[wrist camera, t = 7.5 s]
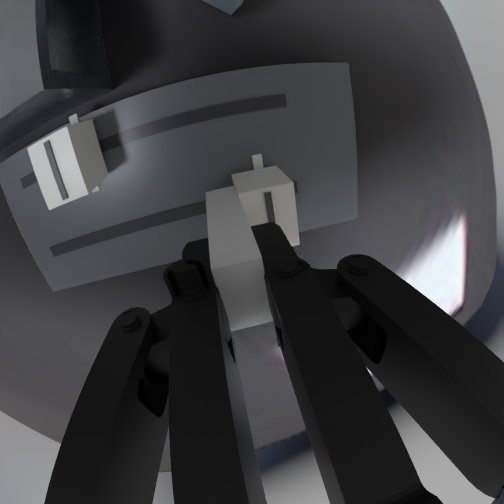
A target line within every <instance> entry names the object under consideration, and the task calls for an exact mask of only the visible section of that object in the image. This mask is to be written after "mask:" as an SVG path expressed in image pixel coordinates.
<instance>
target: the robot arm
mask: <svg viewBox="0 0 504 504" xmlns="http://www.w3.org/2000/svg"><path fill="white" fill-rule="evenodd" d="M205 193H206V210H207V226H208V238H204V239H200V240H195V241H191V242H188V243H187V244H186V246H185V247H184V249H183V250H182V259H181V260H179V261H176V262H175V263H173V264H172V265H170V266H169V267H168V268H167V269H166V270H165V272H164V274H163V278H164V280H165V283H166V285H167V287H168V289H169V291H170V294H171V296H172V303H171V304H170V305H168V306H167V307H165V308H163V309H161V310H159V311H157V312H155V313H153V314H151V315H150V313H149V311H147V310H146V309H145V308H140V307H136V308H131V309H128V310H126V311H124V312H123V313H121V314H120V315H119V316H118V317H117V318H116V319H115V321H114V322H113V324H112V326H111V328H110V330H109V332H108V334H107V336H106V338H105V340H104V342H103V344H102V346H101V348H100V350H99V352H98V355H97V357H96V359H95V361H94V363H93V365H92V368H91V370H90V372H89V374H88V377H87V379H86V381H85V384H84V386H83V388H82V391H81V393H80V395H79V398H78V400H77V403H76V405H75V408H74V410H73V413H72V416H71V418H70V421H69V424H68V426H67V429H66V432H65V435H64V437H63V440H62V443H61V446H60V450H59V452H58V456H57V459H56V462H55V465H54V469H53V472H52V476H51V480H50V483H49V487H48V491H47V495H46V499H45V503H44V504H152V502H153V497H154V492H155V487H156V482H157V477H158V472H159V467H160V462H161V458H162V453H163V448H164V444H165V439H166V435H167V431H168V426H169V436H170V457H171V472H172V484H173V495H174V504H267V502H266V498H265V494H264V489H263V485H262V481H261V477H260V472H259V468H258V463H257V458H256V454H255V449H254V445H253V440H252V435H251V430H250V425H249V420H248V415H247V410H246V405H245V400H244V395H243V390H242V385H241V379H240V374H239V368H238V363H237V357H236V352H235V346H234V342H233V339H232V336H231V332H230V329H231V331H235V330H239V329H244V328H248V327H252V326H256V325H260V324H264V323H268V322H272V321H273V320H274V324H275V330H276V336H277V342H278V347H279V346H280V347H281V350H282V354H283V357H284V360H285V363H286V366H287V369H288V373H289V376H290V379H291V382H292V385H293V388H294V391H295V395H296V398H297V401H298V404H299V407H300V410H301V413H302V417H303V420H304V423H305V426H306V429H307V432H308V435H309V439H310V442H311V445H312V448H313V451H314V454H315V457H316V461H317V464H318V467H319V470H320V473H321V476H322V479H323V482H324V485H325V489H326V492H327V495H328V498H329V501H330V504H443V503H442V502H441V501H440V499H438V497H437V496H435V495H433V494H432V493H430V492H429V491H427V490H426V489H425V488H424V487H423V485H422V483H421V481H420V479H419V476H418V474H417V472H416V470H415V467H414V465H413V463H412V461H411V458H410V456H409V454H408V452H407V449H406V447H405V445H404V443H403V441H402V438H401V436H400V434H399V432H398V430H397V428H396V426H395V424H394V422H393V419H392V417H391V415H390V413H389V411H388V409H387V407H386V405H385V403H384V401H383V399H382V397H381V395H380V393H379V391H378V389H377V387H376V385H375V383H374V381H373V379H372V377H371V375H370V373H369V371H368V370H367V368H368V369H369V370H370V371H371V372H372V373H373V375H374V376H375V377H376V378H377V379H378V380H379V381H380V382H381V383H382V384H383V386H384V387H385V388H386V389H387V390H388V391H389V392H390V393H391V394H392V396H393V397H394V398H395V399H396V400H397V401H398V402H399V403H400V404H401V406H402V407H403V408H404V409H405V410H406V411H407V412H408V413H409V414H410V415H411V417H412V418H413V419H414V420H415V421H416V422H417V423H418V424H419V425H420V427H421V428H422V429H423V430H424V431H425V432H426V433H427V434H428V435H429V437H430V438H431V439H432V440H433V441H434V442H435V443H436V445H437V446H438V447H439V448H440V449H441V450H442V451H443V452H444V454H445V455H446V456H447V457H448V458H449V459H450V460H451V461H452V463H453V464H454V465H455V466H456V467H457V468H458V469H459V470H460V472H461V473H463V475H464V476H465V477H466V478H467V480H469V482H471V483H472V484H473V485H474V486H475V487H476V488H477V489H479V490H480V491H481V492H483V493H484V494H486V495H488V496H491V497H493V498H495V500H494V501H493V502H492V504H504V362H503V361H502V360H500V359H499V358H498V357H497V356H496V355H495V354H494V353H493V352H492V351H490V350H489V349H488V348H487V347H486V346H485V345H484V344H483V343H482V342H480V341H479V340H478V339H477V338H476V337H474V336H473V335H472V334H471V333H470V332H469V331H467V330H466V329H465V328H464V327H463V326H462V325H460V324H459V323H458V322H457V321H456V320H454V319H453V318H452V317H451V316H450V315H448V314H447V313H446V312H445V311H443V310H442V309H441V308H440V307H438V306H437V305H436V304H435V303H433V302H432V301H431V300H429V299H428V298H427V297H426V296H424V295H423V294H422V293H420V292H419V291H418V290H416V289H415V288H414V287H412V286H411V285H410V284H408V283H407V282H406V281H404V280H403V279H402V278H400V277H399V276H398V275H396V274H395V273H394V272H392V271H391V270H389V269H388V268H387V267H385V266H384V265H382V264H381V263H380V262H378V261H377V260H375V259H374V258H372V257H370V256H367V255H362V254H355V255H349V256H346V257H344V258H343V259H341V260H340V261H339V263H338V265H337V269H325V270H323V269H314V268H311V267H310V265H309V264H308V263H307V262H306V261H305V260H302V259H300V258H298V256H297V255H296V253H295V251H294V249H293V248H292V246H291V244H290V242H289V241H288V240H287V237H286V235H285V234H284V232H283V230H282V229H281V227H280V226H279V225H277V224H275V223H274V222H268V223H263V224H259V225H255V226H250V224H249V221H248V219H247V216H246V214H245V211H244V208H243V206H242V203H241V200H240V199H239V196H238V194H237V191H236V188H235V186H230V187H225V188H221V189H217V190H212V191H208V192H205ZM272 317H273V318H272ZM366 367H367V368H366Z"/></svg>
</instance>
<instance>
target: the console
mask: <svg viewBox="0 0 504 504" xmlns="http://www.w3.org/2000/svg"><path fill="white" fill-rule="evenodd" d="M91 119H92V120H93V124H94V128H95V131H96V135H97V138H98V142H99V145H100V149H101V152H102V155H103V159H104V162H105V165H106V168H107V171H108V174H109V175H108V176H107V177H106V178H105V179H104V180H103V181H102V182H101V183H100V184H99V185H98V186H96V187H95V188H94V189H93V190H92V191H91V192H90V193H89V194H88V195H86V196H83V197H80V198H78V199H75V200H73V201H70V202H68V203H65V204H63V205H61V206H58V207H56V208H54V209H51V210H49V209H48V206H47V204H46V201H45V199H44V196H43V194H42V191H41V188H40V186H39V183H38V180H37V177H36V175H35V172H34V169H33V166H32V163H31V159H30V156H29V153H28V150H27V148H28V147H30V146H31V145H33V144H35V143H36V142H38V141H40V140H42V139H44V138H45V137H47V136H49V135H51V134H53V133H55V132H56V131H58V130H60V129H62V128H64V127H66V126H69V125H72V124H76V123H79V122H83V121H87V120H91ZM69 120H70V123H68V124H66V125H64V126H62V127H60V128H58V129H56V130H54V131H52V132H50V133H48V134H47V135H45V136H43V137H41V138H40V139H38V140H36V141H34V142H33V143H31V144H29V145H28V146H26V147H24V148H23V149H21V150H20V151H18V152H17V153H15V154H13V155H12V156H10V157H9V158H7V159H6V160H5V161H3V162H2V163H0V184H1V187H2V190H3V192H4V195H5V198H6V200H7V203H8V205H9V208H10V210H11V213H12V215H13V217H14V220H15V222H16V224H17V226H18V228H19V231H20V233H21V235H22V237H23V239H24V241H25V243H26V245H27V247H28V249H29V251H30V253H31V255H32V256H33V258H34V260H35V262H36V264H37V266H38V267H39V269H40V271H41V273H42V274H43V276H44V278H45V279H46V281H47V283H48V284H49V286H50V288H51V289H52V291H53V292H55V291H59V290H63V289H67V288H71V287H75V286H79V285H83V284H87V283H91V282H95V281H99V280H103V279H107V278H111V277H115V276H119V275H123V274H127V273H131V272H135V271H139V270H144V269H148V268H152V267H156V266H160V265H164V264H168V263H172V262H176V261H179V260H181V259H182V250H183V249H184V247H185V246H186V244H187V243H188V242H191V241H195V240H200V239H204V238H208V226H207V210H206V193H205V192H208V191H212V190H217V189H221V188H225V187H230V186H234V185H233V181H232V176H231V174H236V173H241V172H245V171H250V170H255V169H260V168H265V167H270V166H275V165H276V166H277V167H278V168H279V169H280V170H281V171H282V172H283V173H284V174H286V175H287V176H288V177H289V178H290V179H291V180H292V181H293V183H294V191H295V201H296V210H297V221H298V231H299V232H303V231H308V230H312V229H316V228H321V227H325V226H330V225H334V224H338V223H343V222H347V221H352V220H356V219H357V218H358V171H357V145H356V129H355V116H354V105H353V95H352V86H351V78H350V71H349V64H348V63H297V64H282V65H271V66H262V67H254V68H247V69H240V70H234V71H228V72H222V73H217V74H212V75H207V76H202V77H198V78H193V79H189V80H185V81H181V82H177V83H174V84H170V85H166V86H163V87H160V88H156V89H153V90H150V91H147V92H144V93H141V94H138V95H135V96H132V97H129V98H126V99H123V100H121V101H118V102H115V103H113V104H110V105H108V106H105V107H103V108H101V109H98V110H96V111H93V112H91V113H89V114H87V115H84V116H82V117H80V118H78V115H77V113H76V114H74V115H72V116H70V117H69Z"/></svg>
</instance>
